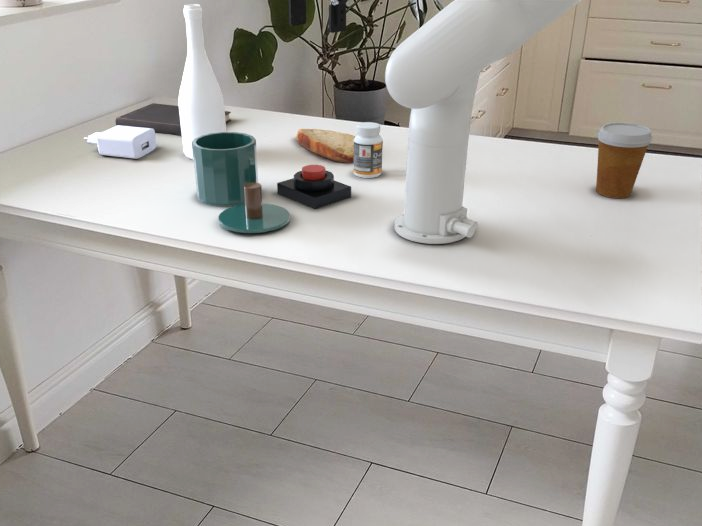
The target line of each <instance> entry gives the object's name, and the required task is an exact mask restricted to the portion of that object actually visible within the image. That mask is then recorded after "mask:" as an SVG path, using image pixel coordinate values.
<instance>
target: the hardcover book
mask: <svg viewBox="0 0 702 526" xmlns="http://www.w3.org/2000/svg"><path fill="white" fill-rule="evenodd" d="M231 113H232V112H231V111H228V110H225V120H226V124H228V123H230V122H232V119H230V114H231ZM117 125H120V126H131V127H141V128H152V129H154V130H155V133H160V134H161V133H162V134H168V135H176V136H182V132H181V123H180V114H179V105H173V104H166V103H165V104H164V103H155V102H152V103H150V104H147V105H145V106H142V107H140V108H137V109H135V110H133V111H130V112H127V113H125V114H122V115H119V116H118V117H116V118H115V126H117Z"/></svg>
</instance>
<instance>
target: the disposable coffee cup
mask: <svg viewBox="0 0 702 526" xmlns="http://www.w3.org/2000/svg"><path fill="white" fill-rule="evenodd" d="M596 137H597V140H598V150H597V166H596V168H597V169H596V182H595V183H596V186H595V192H596V193H597V194H598V195H601V196H603V197H606V198H612V199H623V198H628V197H630V196H631V195H632V192H633V189H634V186H635V184H636V181H637V178H638V175H639V173H640V170H641V166H642V164H643V161H644V158H645V156H646V153H647V150H648V147H649V145H650V144H651V142H652V141H653V139H654V138H653V136H652V129H651V128H650V127H648V126H645V125H642V124H638V123H631V122H608V123H604V124H602V125H601V126H600V129H599V131H598V132H597V133H596Z"/></svg>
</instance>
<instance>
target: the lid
mask: <svg viewBox="0 0 702 526" xmlns="http://www.w3.org/2000/svg"><path fill="white" fill-rule="evenodd" d="M244 200H245V204H242V205H237V206H229V207H227V208H226V209H224V210H222V211H221V212H220V213H219V215H218V217H217V218H218V219H217V220H218V223H219V225H220V226H221V227H222V228H224V229H225V230H228V231H232V232H235V233H243V234H258V233H259V234H260V233H267V232H272V231H275V230H278V229H281V228H283V227H284V226H287V224H288V223H289V222H290V220H291V214H290V212H289V210H287V209H286V208H285V207H282V206H281V205H277V204H272V203H265V202H264V203H263V193H262V184H261V183H260V182H258V183H254V182H253V183H247V184H244Z"/></svg>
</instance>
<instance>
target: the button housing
mask: <svg viewBox="0 0 702 526" xmlns="http://www.w3.org/2000/svg"><path fill="white" fill-rule="evenodd" d="M325 175H326V177H325V178H323V179H320V180H308V179H304V178H302V170H299V171H297V172H295V174H293V177H292V178H290V179H289V178H288V179H286V180H283V181H282V180H281V181H280V182H277V183H276V185H277V186H276V189H277V190H276V191H277V195H279V196H282V197H284V198H287V199H289V200H292V201H294V202H296V203H299V204H301V205H304V206H305V207H308V208H310V209H313V210H317V209H321V208H324V207H326V206H331V205H333V204H336V203H339V202H343V201H345V200H348V199H351V198H352V186H351V185H348V184H345V183H343V182H340V181H337V180H335V175H334V174H333V172H332V171H329V170H326V169H325Z"/></svg>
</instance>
